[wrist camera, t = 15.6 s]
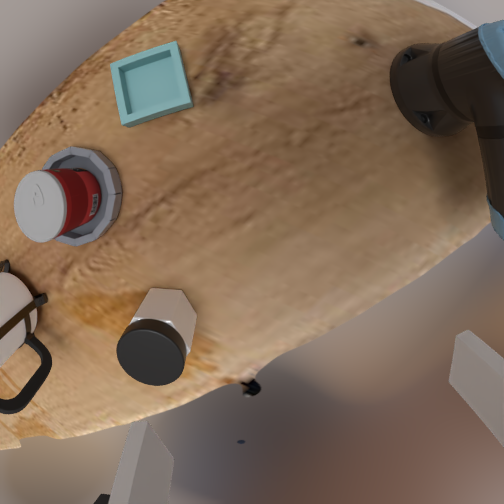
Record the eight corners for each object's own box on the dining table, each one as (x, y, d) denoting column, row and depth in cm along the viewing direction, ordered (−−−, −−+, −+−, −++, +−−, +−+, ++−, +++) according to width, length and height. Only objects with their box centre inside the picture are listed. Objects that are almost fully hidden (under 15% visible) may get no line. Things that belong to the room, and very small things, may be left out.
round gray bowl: (109, 135, 36) (100, 133, 33) (133, 225, 40) (126, 230, 37) (37, 167, 36) (26, 168, 33) (60, 249, 40) (50, 255, 37)
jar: (140, 333, 44) (117, 381, 33) (136, 285, 42) (108, 324, 30) (197, 338, 45) (189, 390, 33) (197, 289, 43) (187, 333, 31)
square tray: (179, 48, 33) (176, 40, 31) (193, 106, 36) (190, 102, 33) (117, 70, 33) (110, 64, 31) (129, 127, 36) (121, 124, 33)
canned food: (89, 157, 36) (47, 156, 25) (112, 208, 38) (75, 223, 28) (50, 184, 36) (4, 193, 26) (72, 233, 39) (31, 254, 28)
